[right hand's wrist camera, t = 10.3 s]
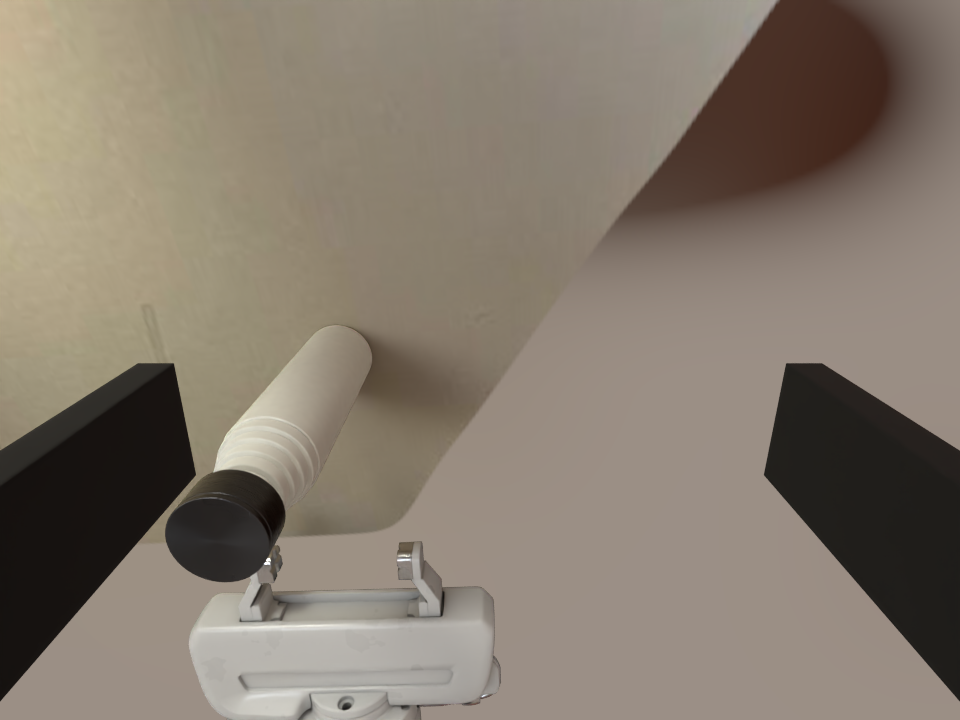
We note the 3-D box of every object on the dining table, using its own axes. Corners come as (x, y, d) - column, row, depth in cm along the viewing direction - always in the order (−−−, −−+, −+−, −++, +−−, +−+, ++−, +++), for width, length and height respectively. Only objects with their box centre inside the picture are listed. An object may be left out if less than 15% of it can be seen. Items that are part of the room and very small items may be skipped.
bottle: (365, 393, 40) (274, 593, 22) (301, 377, 39) (155, 568, 22) (378, 334, 38) (291, 498, 20) (311, 317, 38) (165, 469, 20)
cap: (278, 557, 23) (262, 591, 21) (185, 537, 23) (161, 570, 21) (292, 481, 22) (276, 510, 20) (194, 458, 22) (169, 487, 20)
